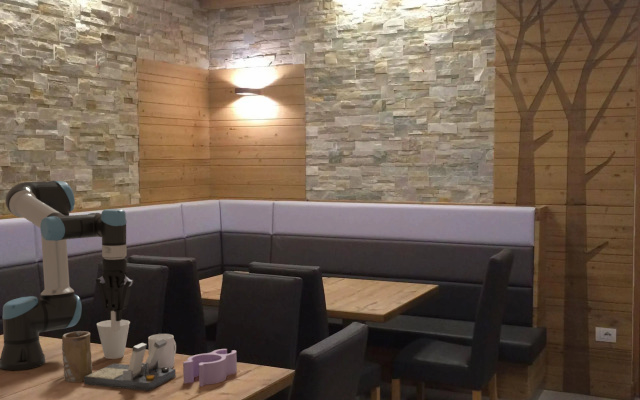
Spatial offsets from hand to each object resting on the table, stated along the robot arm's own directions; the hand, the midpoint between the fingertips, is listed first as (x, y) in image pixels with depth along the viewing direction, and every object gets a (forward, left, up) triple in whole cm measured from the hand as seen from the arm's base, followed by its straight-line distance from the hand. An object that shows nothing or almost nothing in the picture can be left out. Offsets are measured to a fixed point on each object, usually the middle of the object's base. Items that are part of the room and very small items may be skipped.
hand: (115, 330), depth 236 cm
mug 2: (+5, +22, -17) cm, 28 cm away
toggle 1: (+7, 0, -13) cm, 15 cm away
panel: (+3, +4, -17) cm, 18 cm away
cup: (-20, +28, -17) cm, 39 cm away
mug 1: (-17, +1, -17) cm, 25 cm away
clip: (+26, +15, -18) cm, 35 cm away
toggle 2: (+7, +9, -13) cm, 17 cm away
